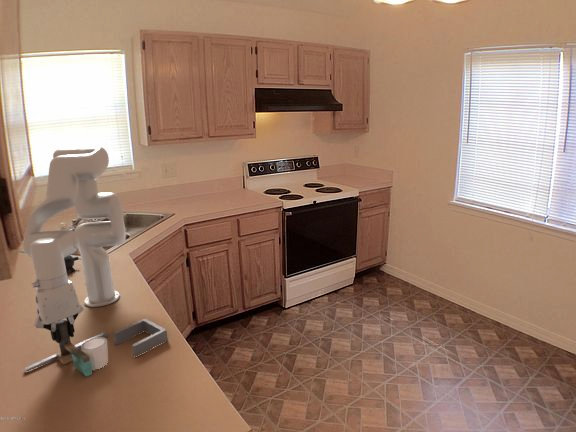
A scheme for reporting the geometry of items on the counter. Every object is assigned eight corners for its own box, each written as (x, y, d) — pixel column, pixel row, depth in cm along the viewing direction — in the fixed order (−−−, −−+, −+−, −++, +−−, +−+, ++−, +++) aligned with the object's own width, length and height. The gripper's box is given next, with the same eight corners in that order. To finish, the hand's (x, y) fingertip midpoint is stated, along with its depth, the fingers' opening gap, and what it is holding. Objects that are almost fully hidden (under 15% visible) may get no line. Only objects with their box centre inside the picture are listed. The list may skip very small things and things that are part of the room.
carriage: (57, 359, 119) (49, 323, 116) (72, 352, 122) (65, 317, 119) (81, 380, 109) (73, 341, 106) (97, 371, 112) (90, 334, 109)
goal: (114, 344, 126) (112, 332, 125) (146, 328, 134) (144, 318, 133) (135, 358, 119) (134, 346, 117) (167, 341, 127) (166, 329, 126)
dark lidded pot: (43, 272, 179) (50, 256, 189) (66, 283, 184) (71, 267, 194) (57, 256, 176) (64, 242, 187) (79, 268, 182) (85, 253, 192)
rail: (24, 371, 114) (23, 368, 113) (105, 334, 132) (105, 331, 131) (26, 373, 113) (25, 370, 113) (107, 336, 131) (107, 332, 130)
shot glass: (82, 374, 112) (78, 352, 110) (87, 360, 118) (83, 339, 116) (109, 368, 114) (105, 347, 112) (111, 355, 120) (108, 334, 118)
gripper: (24, 295, 104) (38, 356, 109) (87, 274, 116) (97, 330, 121) (15, 287, 109) (28, 346, 114) (76, 268, 121) (86, 323, 126)
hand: (64, 337), depth 117 cm, fingers closed on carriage, 3 cm apart
